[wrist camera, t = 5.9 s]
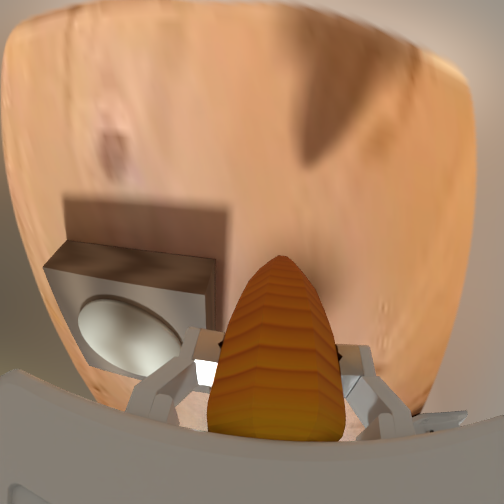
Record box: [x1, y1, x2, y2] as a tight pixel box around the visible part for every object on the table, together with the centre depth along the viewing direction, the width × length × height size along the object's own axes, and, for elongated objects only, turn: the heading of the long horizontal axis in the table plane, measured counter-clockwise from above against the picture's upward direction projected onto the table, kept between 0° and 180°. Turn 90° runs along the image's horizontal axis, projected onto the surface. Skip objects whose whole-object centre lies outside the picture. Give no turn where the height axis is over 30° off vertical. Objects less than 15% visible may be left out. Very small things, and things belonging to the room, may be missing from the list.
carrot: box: [207, 255, 346, 442], centre depth 11 cm, size 5×5×15 cm
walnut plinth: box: [43, 240, 216, 394], centre depth 25 cm, size 14×14×4 cm
